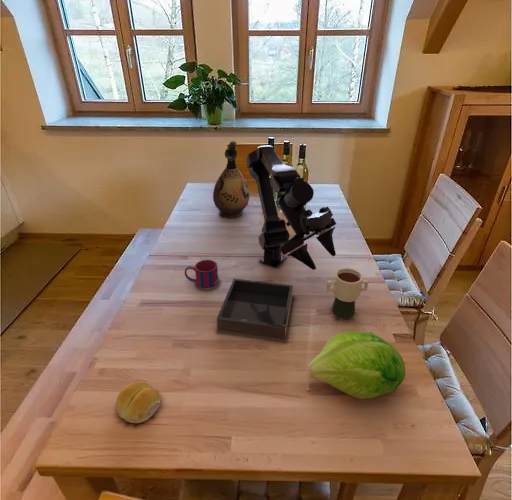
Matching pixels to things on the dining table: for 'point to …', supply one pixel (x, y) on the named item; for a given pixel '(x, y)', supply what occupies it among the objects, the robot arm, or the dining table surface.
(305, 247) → the robot arm
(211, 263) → the cup
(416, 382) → the dining table surface
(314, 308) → the dining table surface
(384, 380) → the lettuce
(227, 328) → the tray
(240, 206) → the ceramic jug
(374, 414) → the dining table surface
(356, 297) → the coffee mug
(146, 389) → the bread roll
